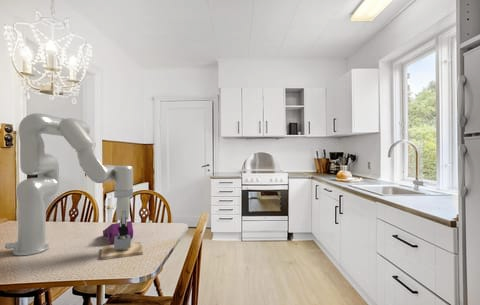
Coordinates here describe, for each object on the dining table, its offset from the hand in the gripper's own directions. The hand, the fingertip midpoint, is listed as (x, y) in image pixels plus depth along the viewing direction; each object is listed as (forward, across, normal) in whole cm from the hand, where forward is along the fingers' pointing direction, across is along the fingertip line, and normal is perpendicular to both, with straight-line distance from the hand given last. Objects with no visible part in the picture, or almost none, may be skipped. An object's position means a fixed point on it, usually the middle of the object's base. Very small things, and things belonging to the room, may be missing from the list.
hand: (123, 235), depth 117 cm
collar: (+5, 0, 0) cm, 5 cm away
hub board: (+7, 0, 0) cm, 7 cm away
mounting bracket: (+8, -21, -3) cm, 23 cm away
